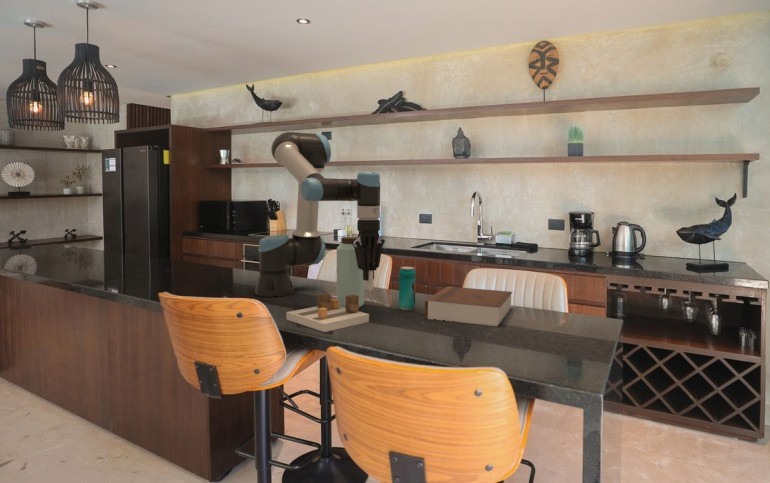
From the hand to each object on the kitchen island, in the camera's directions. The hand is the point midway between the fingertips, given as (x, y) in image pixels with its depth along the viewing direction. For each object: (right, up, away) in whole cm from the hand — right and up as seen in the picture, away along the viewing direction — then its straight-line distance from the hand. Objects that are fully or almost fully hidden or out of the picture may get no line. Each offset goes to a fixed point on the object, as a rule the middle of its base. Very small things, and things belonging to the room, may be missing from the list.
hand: (368, 289), depth 171 cm
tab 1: (-15, -6, -2) cm, 16 cm away
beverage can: (+13, -8, +12) cm, 19 cm away
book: (+35, -10, +7) cm, 37 cm away
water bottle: (-7, -8, +15) cm, 19 cm away
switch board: (-13, -10, -6) cm, 17 cm away
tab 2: (-5, -7, -4) cm, 9 cm away
